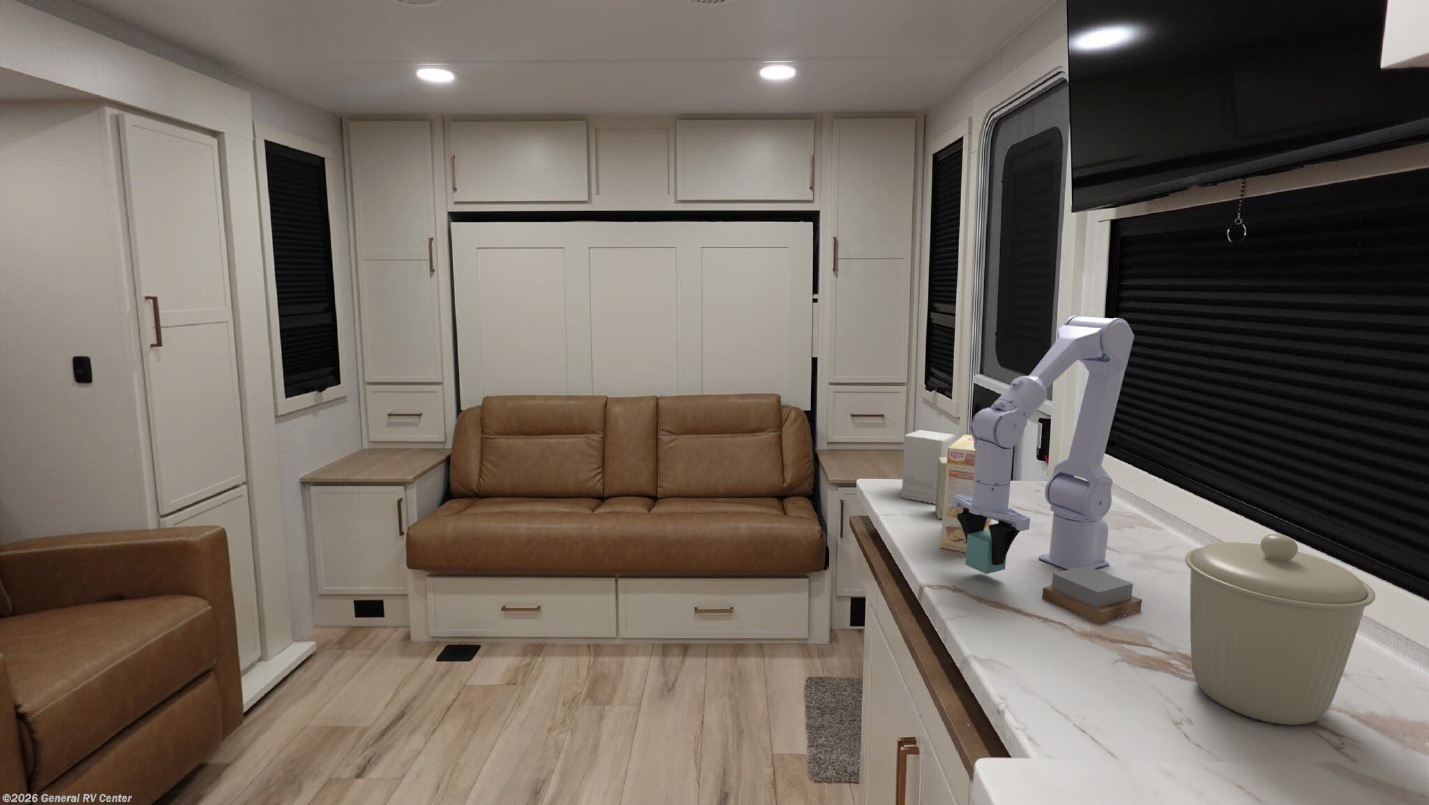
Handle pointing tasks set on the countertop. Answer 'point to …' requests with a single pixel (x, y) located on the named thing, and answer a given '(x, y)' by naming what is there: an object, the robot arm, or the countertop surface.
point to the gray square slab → (1092, 586)
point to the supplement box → (923, 463)
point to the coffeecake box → (958, 491)
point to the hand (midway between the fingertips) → (985, 558)
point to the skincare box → (940, 486)
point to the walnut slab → (1091, 612)
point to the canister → (1272, 627)
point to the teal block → (981, 553)
